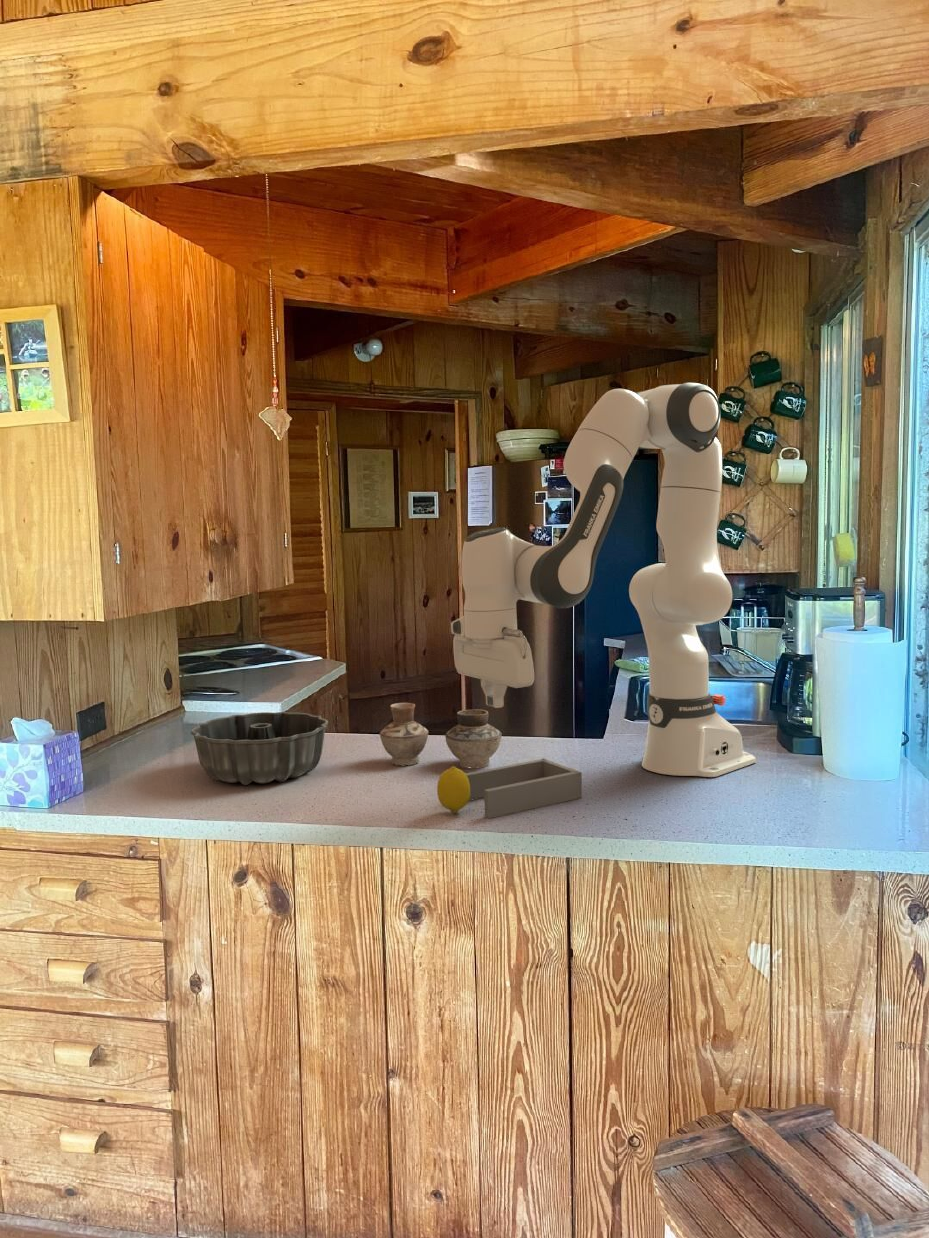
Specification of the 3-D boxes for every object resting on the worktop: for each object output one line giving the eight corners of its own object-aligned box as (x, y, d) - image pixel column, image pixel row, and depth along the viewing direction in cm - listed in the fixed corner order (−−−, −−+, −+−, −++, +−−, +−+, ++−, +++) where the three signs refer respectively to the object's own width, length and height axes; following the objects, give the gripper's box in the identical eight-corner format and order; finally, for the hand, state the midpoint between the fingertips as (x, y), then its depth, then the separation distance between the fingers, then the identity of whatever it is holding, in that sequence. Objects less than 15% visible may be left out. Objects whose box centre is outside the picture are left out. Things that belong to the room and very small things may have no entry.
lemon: (468, 818, 150) (466, 771, 149) (435, 818, 151) (433, 770, 150) (473, 808, 156) (472, 762, 155) (441, 807, 157) (439, 761, 156)
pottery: (390, 755, 193) (387, 699, 192) (507, 758, 188) (505, 700, 186) (373, 769, 182) (370, 710, 181) (496, 773, 177) (494, 712, 175)
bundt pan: (324, 752, 198) (322, 706, 197) (337, 785, 173) (334, 733, 172) (197, 763, 192) (194, 716, 191) (191, 799, 166) (187, 745, 165)
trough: (544, 782, 169) (543, 758, 169) (581, 797, 160) (581, 772, 159) (454, 800, 160) (453, 775, 160) (488, 818, 150) (487, 791, 150)
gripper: (541, 628, 147) (545, 713, 148) (476, 619, 165) (480, 695, 166) (508, 633, 144) (512, 719, 145) (445, 623, 161) (449, 700, 163)
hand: (494, 706), depth 156 cm, fingers closed
